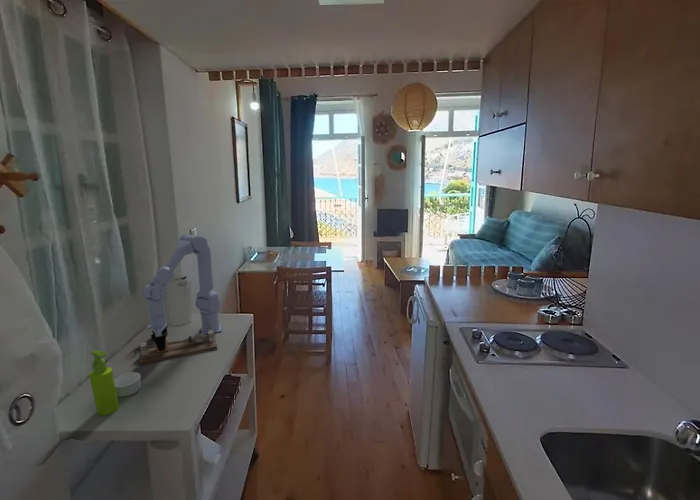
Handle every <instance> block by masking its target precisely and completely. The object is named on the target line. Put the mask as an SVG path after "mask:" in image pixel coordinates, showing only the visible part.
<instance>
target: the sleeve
mask: <svg viewBox="0 0 700 500" xmlns="http://www.w3.org/2000/svg"><path fill="white" fill-rule="evenodd" d="M167 342H169V339H168V335H167V336H166V340H165V350H163V351H167V350H168V348H169V345H168V343H167ZM155 345H156V344H155ZM156 348H157V345H156ZM157 352H162V351H159V350H158V348H157Z"/></svg>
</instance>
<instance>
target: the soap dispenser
mask: <svg viewBox="0 0 700 500" xmlns="http://www.w3.org/2000/svg"><path fill="white" fill-rule="evenodd" d="M90 354H91V355H93V361H92V362H91V365H92V371H91V372H90V373H89V379H90V385H91V389H92V390H91V391H92V394H93V401H94V405H95V408H96V413H97V415H98V416H102V417H104V416H108V415H112V414H113V413H115V412H117V411H118V410H119V408H120V404H119V398H118V396H117V393H116V388H115V383H114V379H115V378H114V374H113V369H112V367H109V366H107V363H106V360H105V358H103V357H106V356H107V353H106V352H104V351H103V350H100V349H95V350H93V351H91V352H90Z"/></svg>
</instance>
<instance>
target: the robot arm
mask: <svg viewBox="0 0 700 500" xmlns="http://www.w3.org/2000/svg"><path fill="white" fill-rule="evenodd" d="M191 254H194V255H196V259H197V269H198V272H197V273H198V281H199V282H198V284H199V291H198V292H197V294H196V299H195V302H194V303H195V307H196V308H197V309H198V311H199V312H200V321H201V333H202V336H203V335H208V331H209V330H213V333H214V334H215V333H219V332H220V333H221V332H222V326H221V323H220V320H219V318H220V317H219V311H220V310H219V309H220V308H221V301H220V298H219V294H218V293H217V292H216V291H215V290H214V283H213V281H214V280H213V269H212V255H211V254H212V253H211V248H210V247H209V244H208V239H207V238H205V237H204V236H202V235H194V234H187V233H185V234H183V235H182V234H181V236H180V237H179V240H178V241H177V243H176V247H175V249H174V251H173V252H172V254H171V256H170V257H169V259H168V261H167V263H166V264H165V266H162V267H160V268H159V269H157V271H156V274H155V275H154V277H153V278H152V280H150V281H149V284H146V285H145V286H144V288H143V290H142V292H141V295H142V297H143V298H144V299H145V302H146V305H147V311H148V316H149V323H150V324H149V325H147V329H148V330H151V331H152V330H153V331H154V332H155V334H153V333H152V334H151V335H150V338H151V340H152V341H153V342H154V344H155V345H157V348H158V350H159V351H163V350H165V340H166V336H167V337H168V335H167V333H166V331H167V332H168V327H169V323H168V322H167V315H166V309H165V303H164V297H165V296H166V290H167V287H168V285H169V284H170V282H171V281H172V279H173V277H175V273H174V270H176V269H177V267H178V265H179V264H180V263H181V262H182V261H183V259H184V257H185V256H187V255H191Z"/></svg>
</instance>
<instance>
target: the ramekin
mask: <svg viewBox="0 0 700 500" xmlns="http://www.w3.org/2000/svg"><path fill="white" fill-rule="evenodd" d="M114 383H115V388H116V393H117V398H118V397H119V398H124V397H125V398H126V397H129V396H132V395H134V394H136V393H137V392H138V391H140V389H141V387H142V383H141V374H140V373H138V372H136V371H135V372H133V371H132V372H126V373H123V374H120V375H118V376H116V377H115V378H114Z"/></svg>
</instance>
